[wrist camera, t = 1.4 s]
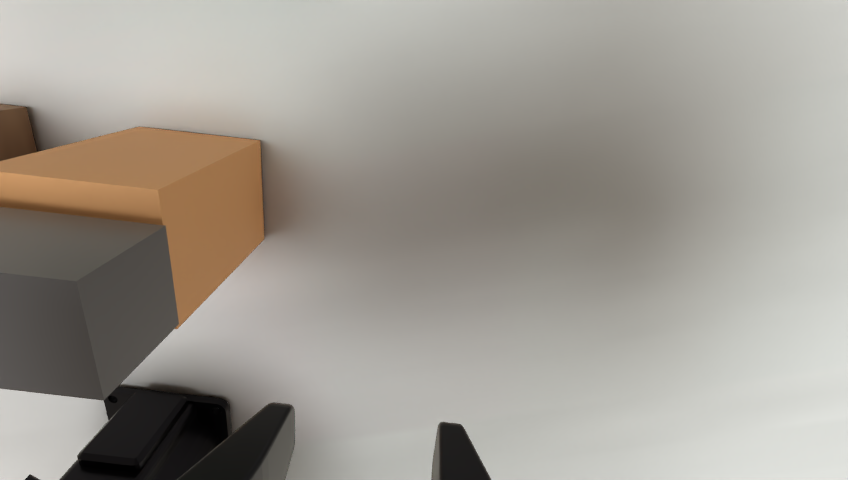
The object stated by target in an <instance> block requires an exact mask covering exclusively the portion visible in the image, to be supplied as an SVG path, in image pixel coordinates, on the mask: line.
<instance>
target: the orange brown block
mask: <svg viewBox="0 0 848 480" xmlns="http://www.w3.org/2000/svg"><path fill="white" fill-rule="evenodd" d="M0 207H6V208H15V209H24V210H33V211H42V212H50V213H59V214H68V215H77V216H86V217H94V218H103V219H112V220H121V221H130V222H138V223H147V224H156V225H165V226H166V232H167V239H168V246H169V254H170V261H171V268H172V276H173V283H174V291H175V298H176V305H177V313H178V320H179V324H178V325H177V326H176V327H175V328H174V329H178V328H179V327H180V326H181V325H182V324H183V323H184V322H185V321H186V319H187V318H188V317H189V316H190V315H191V314H192V313H193V312H194V311H195V310H196V309H197V308H198V307H199V306H200V305H201V304H202V303H203V302H204V301H205V300H206V299H207V298H208V297H209V296H210V295H211V294H212V293H213V292H214V291H215V290H216V288H217V287H218V286H219V285H220V284H221V283H222V282H223V281H224V280H225V279H226V278H227V277H228V276H229V275H230V274H231V273H232V272H233V271H234V270H235V269H236V268H237V267H238V266H239V265H240V264H241V263H242V262H243V261H244V260H245V258H246V257H247V256H248V255H249V254H250V253H251V252H252V251H253V250H254V249H255V248H256V247H257V246H258V245H259V244H260V243H261V242H262V241H263V240H264V218H263V194H262V171H261V147H260V140H252V139H243V138H235V137H226V136H217V135H208V134H199V133H190V132H182V131H173V130H164V129H155V128H146V127H135V128H131V129H127V130H123V131H119V132H115V133H111V134H107V135H103V136H99V137H95V138H91V139H87V140H83V141H79V142H75V143H71V144H67V145H63V146H59V147H55V148H51V149H47V150H43V151H39V152H35V153H31V154H27V155H23V156H19V157H15V158H11V159H7V160H3V161H0Z"/></svg>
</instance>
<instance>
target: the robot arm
mask: <svg viewBox="0 0 848 480" xmlns="http://www.w3.org/2000/svg"><path fill="white" fill-rule="evenodd" d="M104 403H105V407H106V411H107V415H108V420H109V421H108V422H107V423H106V424H105V425H104V426H103V428H102V429H101V430H100V431H99V432H98V433H97V434H96V435H95V436H94V437H93V439H92V440H91V441H90V442H89V443H88V444H87V445H86V446H85V447H84V448H83V449H82V451H81V452H80V453H79V454H78V456H77V457H78V460H77V461H76V462H75V463H74V464H73V465H72V466H71V467H70V468H69V470H68V471H67V472H66V473H65V474H64V475H63V476H62V477H61V478H60V480H285V478H286V474H287V471H288V467H289V464H290V460H291V457H292V453H293V449H294V444H295V411H294V407H293V406H292V405H290V404H282V403H270V404H268V405H266V406H265V407H264V408H263V409H262V410H260V411H259V412H258V413H257V414H256V415H254V416H253V417H252V418H251V419H250V420H248V421H247V422H246V423H245V424H243V425H242V426H241V427H240V428H239V429H237V430H236V431H235V432H234V433H233V434H232V430H231V419H230V408H229V404H228V403H227V402H226V401H225V400H223V399H220V398H212V397H203V396H194V395H186V394H177V393H168V392H159V391H151V390H142V389H133V388H125V387H117V388H116V389H115V390H114V391H113V392H112V393H111V394H110V395H109V396H108V397H107V398H106V399H105V400H104ZM218 408H219V409H218ZM25 480H39V479H38V478H36V477H34V476H32V475H31V474H30V475H29V476H28V477H27V478H26V479H25ZM431 480H491V478H490V476H489V474H488V473H487V471H486V469H485V467H484V465H483V463H482V461H481V459H480V457H479V456H478V454H477V452H476V450H475V448H474V446H473V444H472V442H471V440H470V439H469V437H468V435H467V433H466V431H465V429H464V427H463V426H462V425H461V424H457V423H448V422H441V423H440V424H439V425H438V429H437V436H436V442H435V449H434V455H433V464H432V479H431Z"/></svg>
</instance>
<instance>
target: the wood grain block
mask: <svg viewBox="0 0 848 480" xmlns="http://www.w3.org/2000/svg"><path fill="white" fill-rule="evenodd" d="M35 152H37V149H36V145H35V141H34V137H33V133H32V129H31V124H30V120H29V116H28V112H27V108H26V107H22V106H13V105H4V104H0V161H3V160H7V159H11V158H15V157H19V156H23V155H27V154H31V153H35Z"/></svg>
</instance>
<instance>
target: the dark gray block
mask: <svg viewBox="0 0 848 480" xmlns="http://www.w3.org/2000/svg"><path fill="white" fill-rule="evenodd" d="M178 324H179V320H178V313H177V305H176V298H175V291H174V283H173V276H172V268H171V261H170V254H169V246H168V239H167V232H166V226H165V225H156V224H147V223H138V222H130V221H121V220H112V219H103V218H94V217H86V216H77V215H68V214H59V213H50V212H42V211H33V210H24V209H15V208H6V207H0V388H1V389H10V390H18V391H27V392H36V393H44V394H53V395H62V396H70V397H79V398H88V399H97V400H105V399H106V398H107V397H108V396H109V395H110V394H111V393H112V392H113V391H114V390H115V389H116V388H117V387H118V386H119V385H120V384H121V383H122V382H123V381H124V380H125V379H126V378H127V376H128V375H129V374H130V373H131V372H132V371H133V370H134V369H135V368H136V367H137V366H138V365H139V364H140V363H141V362H142V361H143V360H144V359H145V358H146V357H147V356H148V355H149V354H150V353H151V352H152V351H153V350H154V349H155V348H156V347H157V346H158V345H159V344H160V343H161V342H162V341H163V340H164V339H165V338H166V337H167V336H168V335H169V334H170V333H171V332H172V331H173V329H174V328H175V327H176V326H177V325H178Z"/></svg>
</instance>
